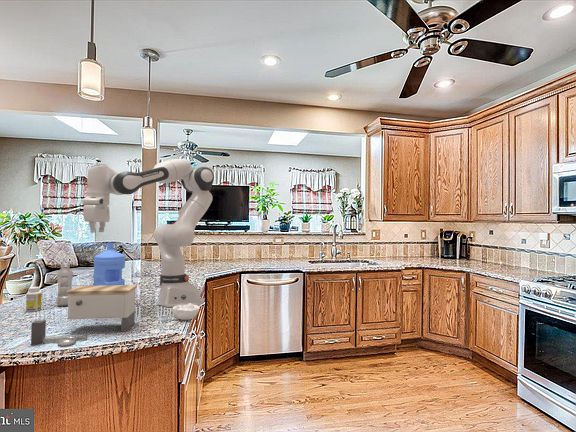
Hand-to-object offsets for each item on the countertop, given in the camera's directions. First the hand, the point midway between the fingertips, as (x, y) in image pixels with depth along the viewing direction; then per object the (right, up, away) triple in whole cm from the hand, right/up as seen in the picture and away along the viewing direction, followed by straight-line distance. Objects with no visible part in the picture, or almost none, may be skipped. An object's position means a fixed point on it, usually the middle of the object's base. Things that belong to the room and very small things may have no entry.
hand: (97, 232), depth 152 cm
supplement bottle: (-29, -35, +2) cm, 46 cm away
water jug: (-15, -36, +39) cm, 56 cm away
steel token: (+12, -35, -39) cm, 54 cm away
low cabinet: (+14, -35, -22) cm, 44 cm away
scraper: (+8, -35, -37) cm, 51 cm away
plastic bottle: (-22, -35, +11) cm, 43 cm away
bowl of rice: (+42, -36, -9) cm, 56 cm away
